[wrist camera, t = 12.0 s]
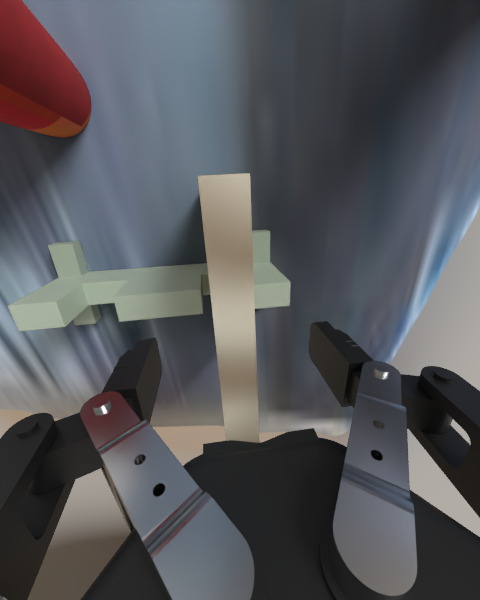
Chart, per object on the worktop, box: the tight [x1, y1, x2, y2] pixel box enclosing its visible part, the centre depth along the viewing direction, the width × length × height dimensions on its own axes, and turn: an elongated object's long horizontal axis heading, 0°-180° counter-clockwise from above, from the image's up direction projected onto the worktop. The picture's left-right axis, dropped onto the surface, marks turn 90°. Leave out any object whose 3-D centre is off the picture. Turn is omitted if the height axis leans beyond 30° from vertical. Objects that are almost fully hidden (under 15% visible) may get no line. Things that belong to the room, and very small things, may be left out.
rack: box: [8, 230, 291, 331], centre depth 22 cm, size 8×20×8 cm, turn 93°
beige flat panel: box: [198, 173, 259, 443], centre depth 19 cm, size 16×2×15 cm, turn 3°
